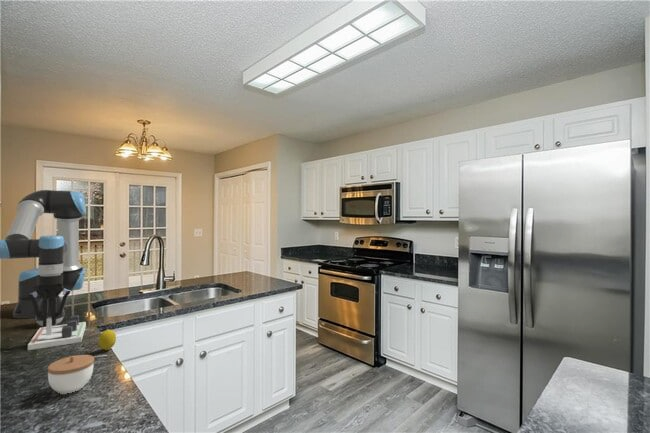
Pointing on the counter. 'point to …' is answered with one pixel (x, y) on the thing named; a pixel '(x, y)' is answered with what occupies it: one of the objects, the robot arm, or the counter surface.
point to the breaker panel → (56, 337)
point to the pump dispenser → (58, 318)
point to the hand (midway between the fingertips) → (49, 334)
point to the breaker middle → (72, 324)
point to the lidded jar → (70, 373)
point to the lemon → (107, 339)
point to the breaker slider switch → (67, 331)
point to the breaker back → (75, 318)
